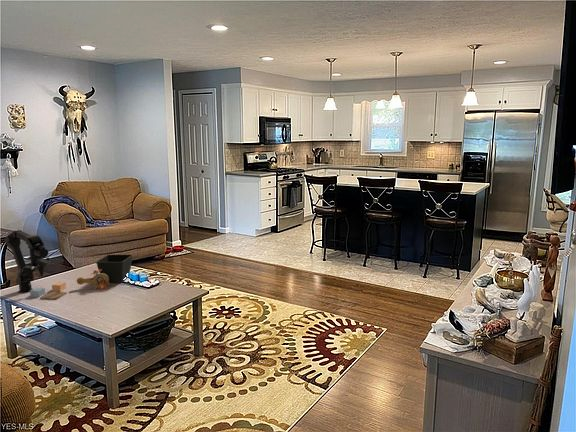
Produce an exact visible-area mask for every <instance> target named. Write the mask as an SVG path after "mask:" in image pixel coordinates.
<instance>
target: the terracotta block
mask: <svg viewBox="0 0 576 432" xmlns="http://www.w3.org/2000/svg"><path fill="white" fill-rule="evenodd" d="M51 288H52V289H51V292H63V291H64V290H66V289H67V283H66V282H65V281H62V282H61V281H57V282H54V283H53V284H51Z"/></svg>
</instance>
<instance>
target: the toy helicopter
mask: <svg viewBox="0 0 576 432" xmlns="http://www.w3.org/2000/svg"><path fill="white" fill-rule="evenodd" d="M101 270H102V269H101ZM101 270H96V269H95V270H93V272H91V273H90V274H89V276H91V275H93V277H87V278H84V277H78V278H77V279H76V282H77V283H76V284H78V285H80V286H81V285H84V284H91V285H92V286H93V287H92V288H93V289H94V290H97V289H99V291H100V290H101V291H105V290H106V288H107V287H108V286H109V285H110V283H109V277H108V275H106V274H104V273H100V272H99V271H101Z"/></svg>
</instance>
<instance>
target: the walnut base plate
mask: <svg viewBox="0 0 576 432" xmlns="http://www.w3.org/2000/svg"><path fill="white" fill-rule="evenodd" d="M65 295H67V291H49V292H47V293H45V295H43V296H41V297H39V300H50V299H53V300H54V301H55V300H56V301H57V300H58V299H60V298H61V297H62V298H63V296H65ZM53 300H52V301H53Z"/></svg>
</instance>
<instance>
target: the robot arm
mask: <svg viewBox="0 0 576 432" xmlns="http://www.w3.org/2000/svg"><path fill="white" fill-rule="evenodd" d="M21 241H24V242H25V244H26V245H27V248H28V250H29V257H28V260H30V263H29V264H28V265H26V262H25V258H24V256H23V253H22V250H21V243H22V242H21ZM4 243H5V244H6V246H7V248H9V249H11V251H12V255H13V257H14V261H15V263H16V266H17V274H16V276H17V277H16V279H15V284H17V285H18V289H19V290H18V291H17V293H24V292H27V293H30V290H32V289H33V288H32V283H31V282H33V281H35V272H36V268H37V269H38V271H39V275H40V276H41V277H43V276H44V273H45V269H46V268H47V267H49V266H50V264H51V263H52V262H51V257H49V256H48V255H49V251H48V249H46V248H45V244H44V241H43V240H42V238H41V237H40V235H36V234H34V235H33V234H29V233H26V232H24V231H22V230H20V229H18V230H13V231H11V233H10V234H8V235H6V237H5V238H4Z"/></svg>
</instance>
